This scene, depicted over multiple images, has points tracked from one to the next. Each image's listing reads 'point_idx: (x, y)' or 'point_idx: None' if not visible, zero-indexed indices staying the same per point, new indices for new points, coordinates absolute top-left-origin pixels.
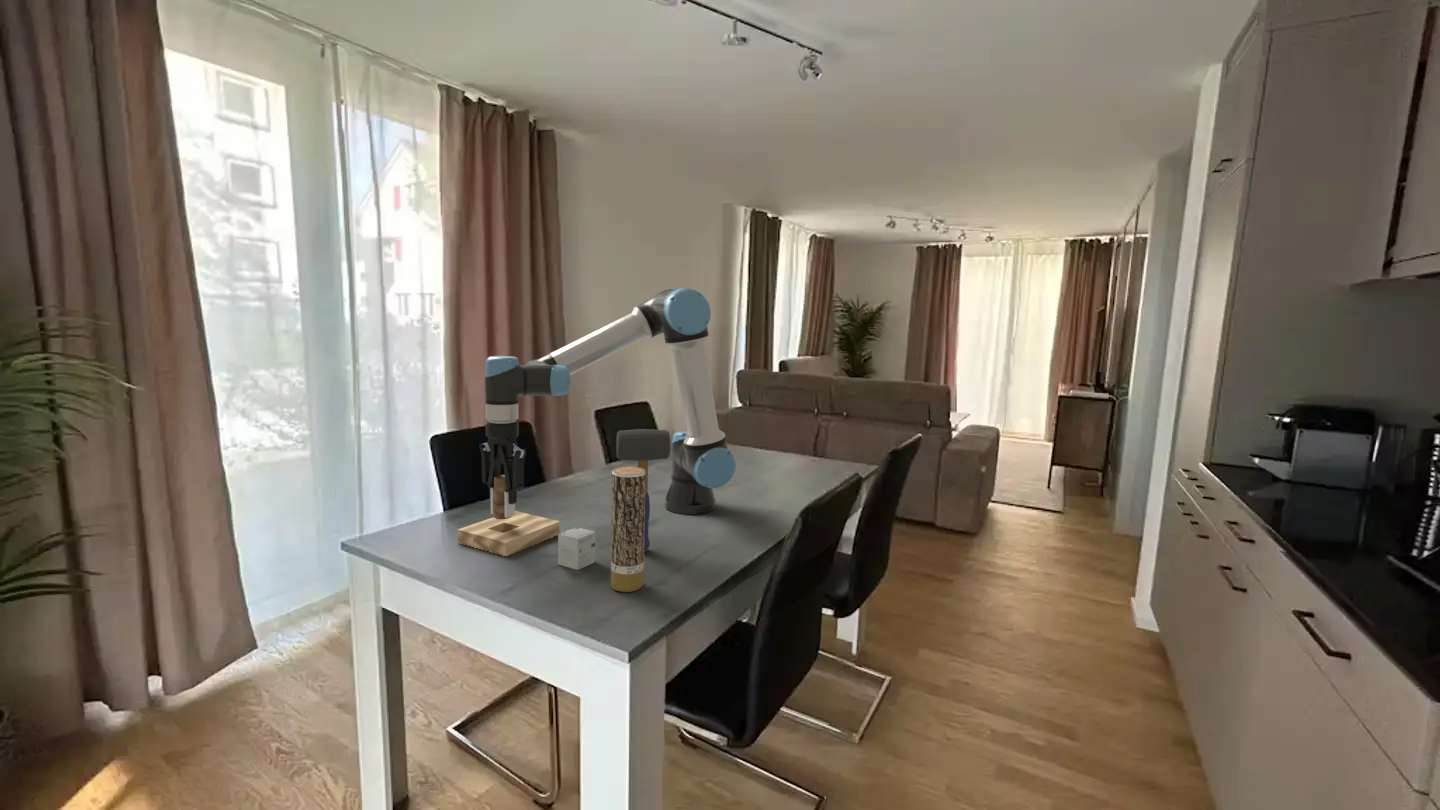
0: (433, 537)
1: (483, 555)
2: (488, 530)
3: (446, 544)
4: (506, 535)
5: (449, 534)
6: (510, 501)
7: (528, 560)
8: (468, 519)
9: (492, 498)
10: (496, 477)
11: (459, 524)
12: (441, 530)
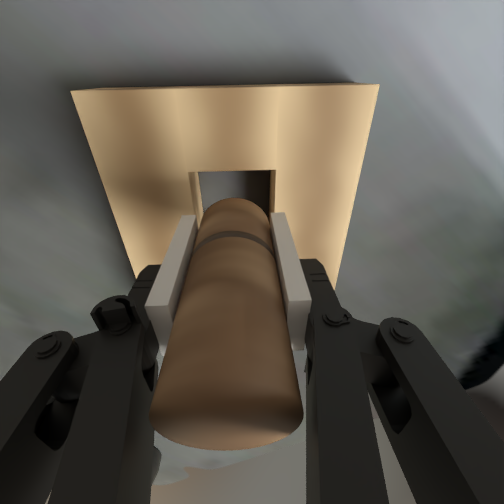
0: (485, 72)
1: (176, 46)
2: (255, 157)
3: (390, 44)
4: (152, 158)
5: (441, 132)
6: (154, 274)
7: (19, 114)
8: (453, 251)
9: (281, 256)
10: (260, 397)
11: (458, 213)
12: (491, 144)
